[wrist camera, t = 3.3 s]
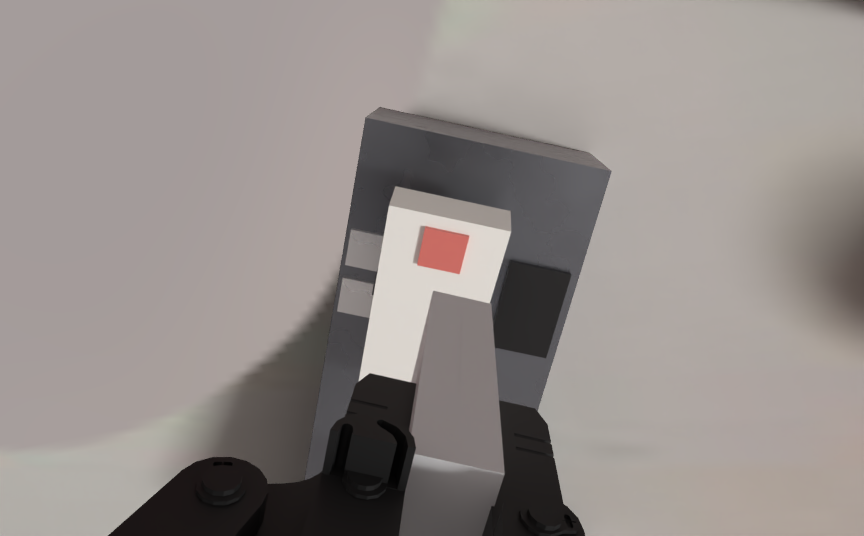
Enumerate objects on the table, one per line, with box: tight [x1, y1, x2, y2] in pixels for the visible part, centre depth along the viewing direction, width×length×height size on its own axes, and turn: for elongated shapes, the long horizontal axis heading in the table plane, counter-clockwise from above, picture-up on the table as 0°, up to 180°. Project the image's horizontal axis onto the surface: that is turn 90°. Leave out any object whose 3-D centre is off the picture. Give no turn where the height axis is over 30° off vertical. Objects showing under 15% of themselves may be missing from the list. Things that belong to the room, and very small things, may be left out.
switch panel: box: [305, 107, 611, 480], centre depth 31 cm, size 10×26×5 cm, turn 168°
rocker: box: [359, 186, 511, 382], centre depth 25 cm, size 4×9×2 cm, turn 168°
